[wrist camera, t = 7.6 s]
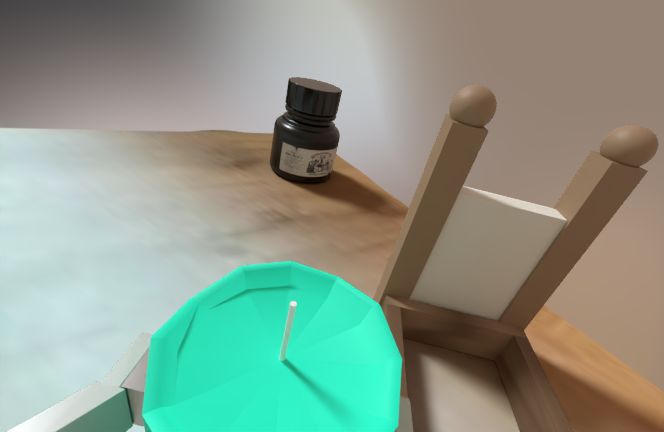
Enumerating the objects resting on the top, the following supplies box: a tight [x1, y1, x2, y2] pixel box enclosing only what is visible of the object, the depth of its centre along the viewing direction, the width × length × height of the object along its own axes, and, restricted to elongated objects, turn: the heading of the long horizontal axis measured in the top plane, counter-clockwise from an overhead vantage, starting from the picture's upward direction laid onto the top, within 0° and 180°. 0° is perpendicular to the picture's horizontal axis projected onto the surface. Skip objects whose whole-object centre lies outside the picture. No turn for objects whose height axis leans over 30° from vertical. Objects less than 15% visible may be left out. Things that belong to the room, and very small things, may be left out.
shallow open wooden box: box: [381, 294, 573, 432], centre depth 20 cm, size 10×10×3 cm
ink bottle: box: [270, 77, 342, 183], centre depth 44 cm, size 10×9×12 cm
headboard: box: [373, 85, 658, 330], centre depth 22 cm, size 11×2×18 cm, turn 83°
